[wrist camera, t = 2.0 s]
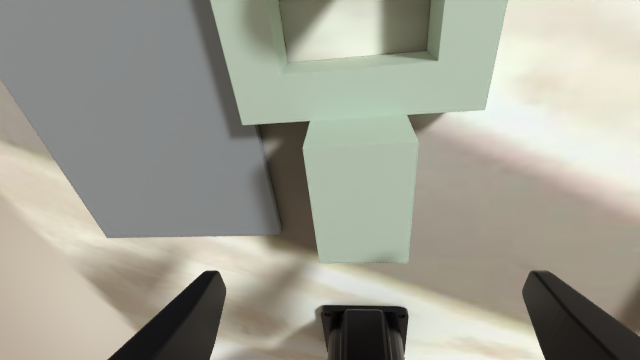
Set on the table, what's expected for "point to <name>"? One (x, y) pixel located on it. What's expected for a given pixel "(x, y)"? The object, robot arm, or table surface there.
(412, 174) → the c link
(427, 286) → the table surface
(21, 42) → the mat
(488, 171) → the table surface
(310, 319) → the table surface
